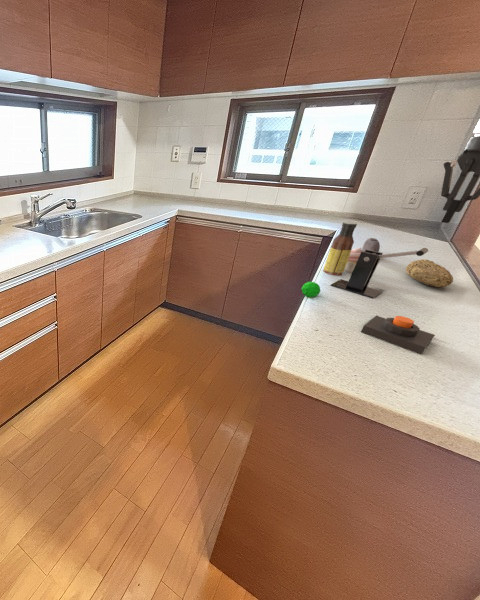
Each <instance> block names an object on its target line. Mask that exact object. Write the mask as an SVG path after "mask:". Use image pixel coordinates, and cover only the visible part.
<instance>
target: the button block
mask: <svg viewBox="0 0 480 600" xmlns="http://www.w3.org/2000/svg"><path fill="white" fill-rule="evenodd" d="M394 318H395V317H386V318H385V317H383V316H379V315H375V316H374V317H372V319H370V320H369V321H368V322H366V323H365V324H363V327H362V329H361V330H360V333H362V334H365V335H367V336H370V337H372V338H375V339H378V340H380V341H384V342H386V343H389V344H392V345H394V346H396V347H399V348H402V349H405V350H407V351H410V352H413V353H416V354H418V355H423V353H424V352H425V350H426V349H427V348H428V346H429V345H430V344H431V342H432V341H433V340H434V338H435V334H434V333H432V332H428V331H425V330H422V329H420V327H419V326H418V325H416V324H415V323H413V325H412V327H411V328H403V327H400V326H397V325H395V324H393V323H392V322H393V320H394Z"/></svg>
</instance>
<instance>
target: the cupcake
mask: <svg viewBox="0 0 480 600" xmlns="http://www.w3.org/2000/svg"><path fill="white" fill-rule="evenodd" d="M362 251H363V249H362V248H361V247H356V248H352V250H351V253H350V256H349V258H348V261H347V264H346V266H345V269H344V272H343V273H348V274H352V272H353V270H354V267H355V265H356V263H357V261H358V258H359V256H360V254H361V252H362Z"/></svg>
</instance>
